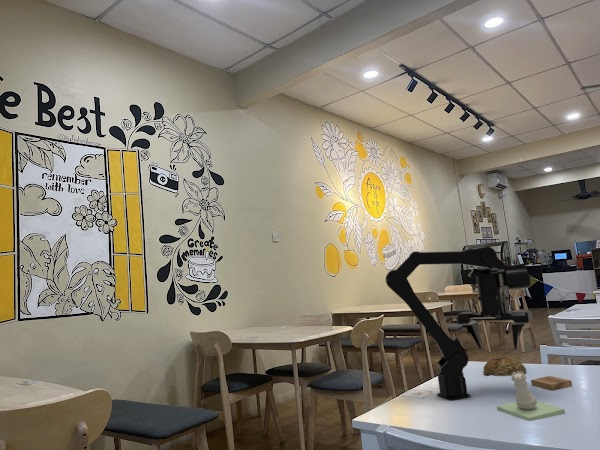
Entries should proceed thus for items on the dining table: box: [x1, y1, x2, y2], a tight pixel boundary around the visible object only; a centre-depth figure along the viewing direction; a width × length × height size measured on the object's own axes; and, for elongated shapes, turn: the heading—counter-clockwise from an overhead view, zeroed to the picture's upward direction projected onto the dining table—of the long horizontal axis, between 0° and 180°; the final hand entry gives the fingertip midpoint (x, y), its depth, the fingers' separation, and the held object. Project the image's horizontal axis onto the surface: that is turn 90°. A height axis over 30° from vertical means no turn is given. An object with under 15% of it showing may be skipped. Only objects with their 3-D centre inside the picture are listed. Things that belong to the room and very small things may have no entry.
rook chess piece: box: [511, 371, 538, 409], centre depth 102 cm, size 4×4×8 cm
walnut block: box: [530, 375, 573, 391], centre depth 122 cm, size 7×7×2 cm
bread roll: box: [483, 356, 527, 377], centre depth 143 cm, size 13×12×5 cm
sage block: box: [496, 400, 566, 422], centre depth 103 cm, size 10×10×2 cm
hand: (498, 349), depth 120 cm, fingers open, 9 cm apart
